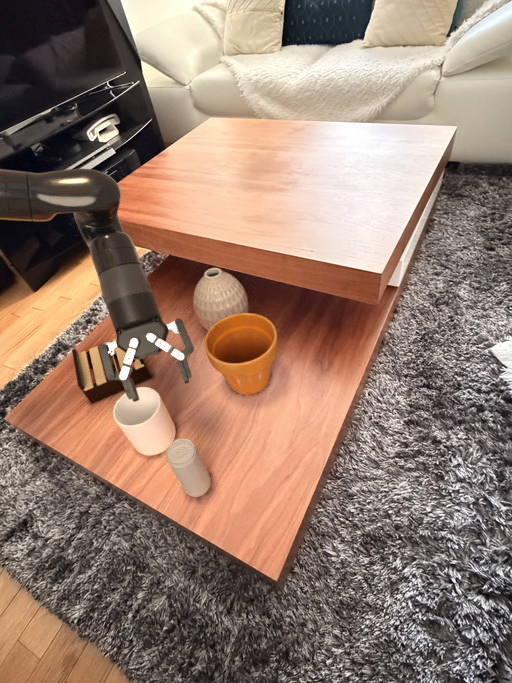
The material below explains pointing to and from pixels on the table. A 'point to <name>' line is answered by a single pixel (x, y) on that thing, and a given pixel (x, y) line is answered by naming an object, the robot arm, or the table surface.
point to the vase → (218, 297)
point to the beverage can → (188, 467)
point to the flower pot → (243, 350)
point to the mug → (145, 421)
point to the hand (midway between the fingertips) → (162, 391)
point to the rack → (103, 385)
